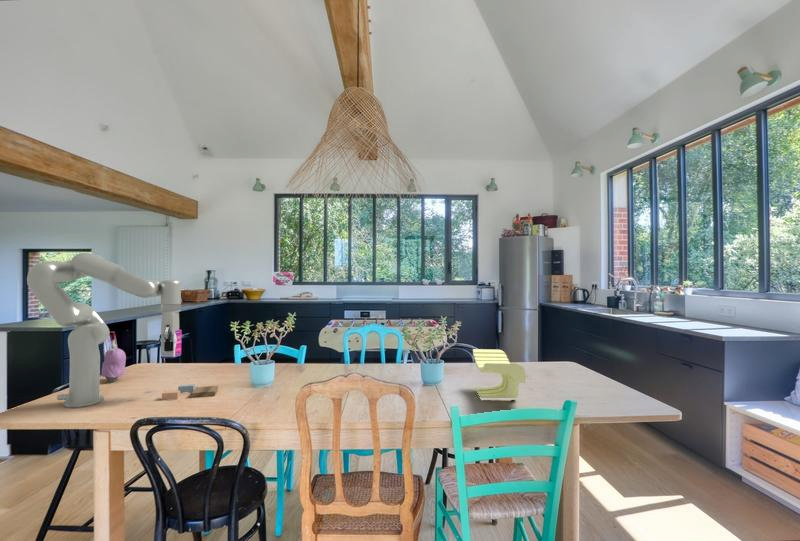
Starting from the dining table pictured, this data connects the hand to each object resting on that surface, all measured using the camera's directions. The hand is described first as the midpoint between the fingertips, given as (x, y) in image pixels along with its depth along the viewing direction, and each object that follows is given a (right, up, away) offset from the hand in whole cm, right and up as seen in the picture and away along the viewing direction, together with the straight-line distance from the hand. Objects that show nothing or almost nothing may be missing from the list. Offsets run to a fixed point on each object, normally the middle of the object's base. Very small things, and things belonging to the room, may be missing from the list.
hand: (171, 349), depth 163 cm
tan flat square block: (+13, -21, +3) cm, 25 cm away
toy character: (-43, -21, +23) cm, 53 cm away
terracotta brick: (+2, -20, -3) cm, 21 cm away
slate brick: (+3, -21, +6) cm, 22 cm away
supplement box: (0, -3, 0) cm, 3 cm away
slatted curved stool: (+142, -22, +3) cm, 143 cm away
